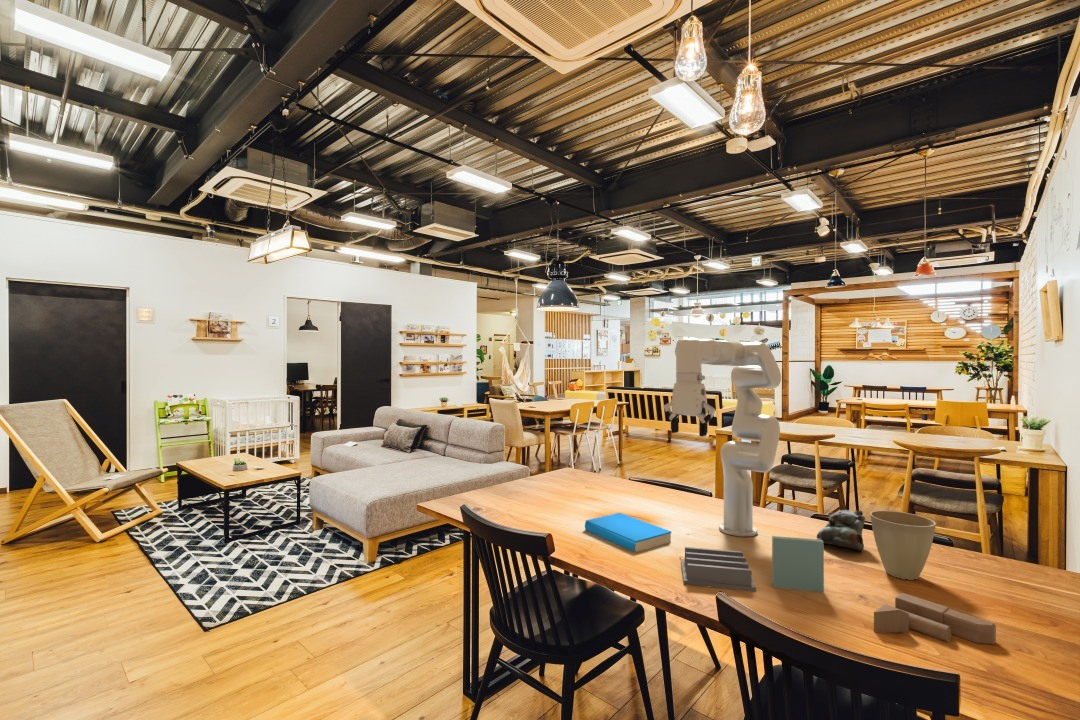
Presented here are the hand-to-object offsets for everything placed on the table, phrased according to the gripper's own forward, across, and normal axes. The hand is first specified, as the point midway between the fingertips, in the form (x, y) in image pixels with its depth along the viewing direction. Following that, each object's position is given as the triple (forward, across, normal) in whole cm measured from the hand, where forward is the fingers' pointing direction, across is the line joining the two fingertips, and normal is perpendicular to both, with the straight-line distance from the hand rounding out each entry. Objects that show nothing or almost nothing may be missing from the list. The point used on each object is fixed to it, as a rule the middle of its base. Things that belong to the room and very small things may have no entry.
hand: (688, 434), depth 154 cm
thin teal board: (+37, -31, -1) cm, 49 cm away
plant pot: (+38, -48, -32) cm, 69 cm away
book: (+38, +24, 0) cm, 45 cm away
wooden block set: (+38, -60, +2) cm, 71 cm away
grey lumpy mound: (+38, -29, -43) cm, 64 cm away
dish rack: (+37, -13, +8) cm, 40 cm away
